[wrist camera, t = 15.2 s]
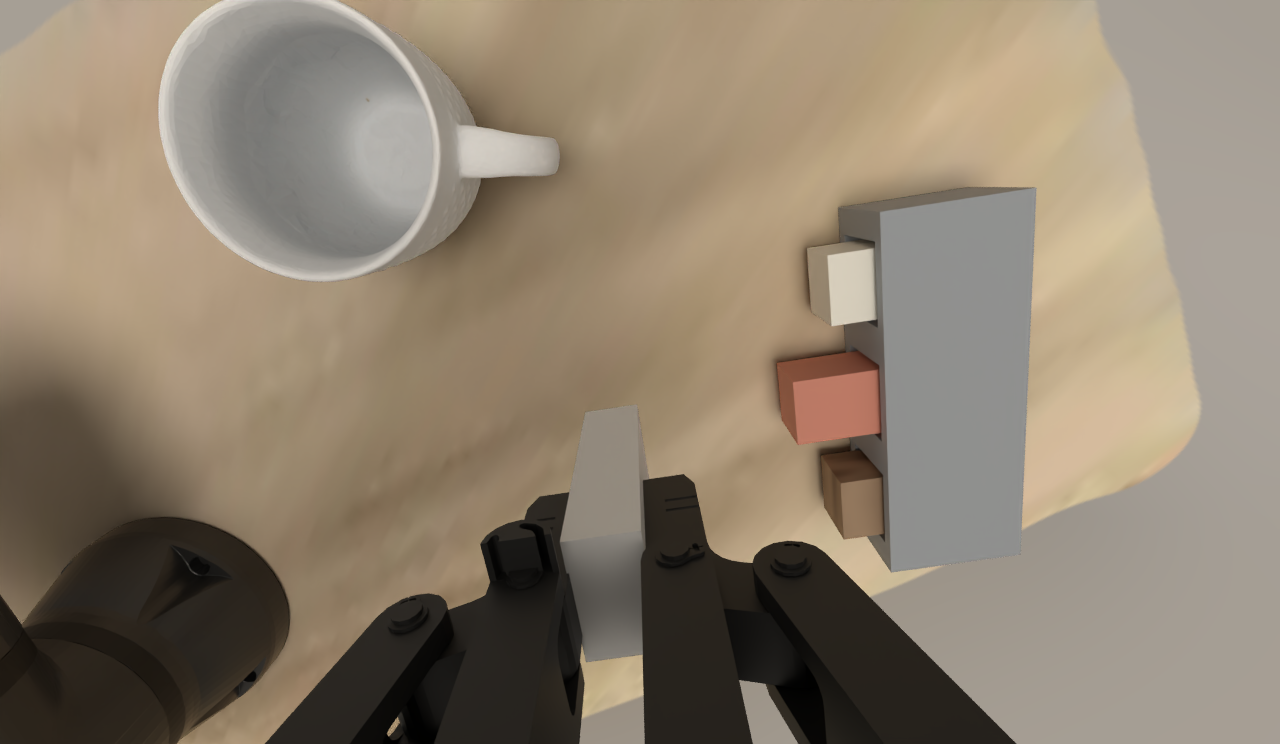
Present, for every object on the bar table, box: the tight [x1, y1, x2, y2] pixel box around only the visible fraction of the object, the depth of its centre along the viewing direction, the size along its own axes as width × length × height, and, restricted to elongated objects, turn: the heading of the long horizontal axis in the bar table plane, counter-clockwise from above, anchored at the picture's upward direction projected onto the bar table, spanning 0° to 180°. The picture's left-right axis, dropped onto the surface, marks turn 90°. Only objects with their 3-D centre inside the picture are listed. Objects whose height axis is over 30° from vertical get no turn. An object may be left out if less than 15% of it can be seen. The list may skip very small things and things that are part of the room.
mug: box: [158, 0, 560, 282], centre depth 30 cm, size 15×11×13 cm
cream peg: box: [807, 239, 878, 326], centre depth 35 cm, size 9×4×4 cm, turn 99°
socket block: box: [838, 187, 1036, 572], centre depth 37 cm, size 8×22×6 cm, turn 9°
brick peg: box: [777, 351, 881, 445], centre depth 37 cm, size 9×4×4 cm, turn 99°
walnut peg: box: [821, 450, 885, 539], centre depth 39 cm, size 9×4×4 cm, turn 99°
